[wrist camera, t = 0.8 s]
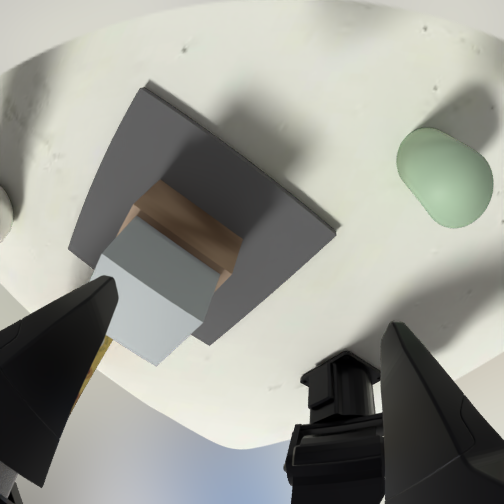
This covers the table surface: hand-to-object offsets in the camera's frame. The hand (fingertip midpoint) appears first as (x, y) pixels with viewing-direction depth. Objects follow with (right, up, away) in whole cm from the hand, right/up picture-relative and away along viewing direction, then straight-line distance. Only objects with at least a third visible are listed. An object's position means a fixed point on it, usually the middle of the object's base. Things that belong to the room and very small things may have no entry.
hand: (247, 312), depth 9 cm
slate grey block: (-6, 0, +10) cm, 12 cm away
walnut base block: (-5, +3, +13) cm, 14 cm away
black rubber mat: (-5, +3, +14) cm, 15 cm away
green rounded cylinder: (+11, +8, +8) cm, 16 cm away
